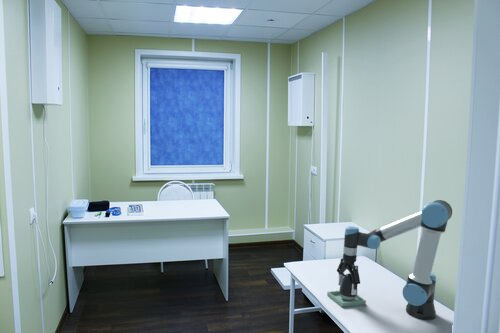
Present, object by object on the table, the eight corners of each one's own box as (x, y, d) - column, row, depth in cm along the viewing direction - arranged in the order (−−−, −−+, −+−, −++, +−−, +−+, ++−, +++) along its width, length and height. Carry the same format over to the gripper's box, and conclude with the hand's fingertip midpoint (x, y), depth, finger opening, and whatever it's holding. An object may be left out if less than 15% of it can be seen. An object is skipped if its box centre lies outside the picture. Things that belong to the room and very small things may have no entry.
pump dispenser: (343, 293, 240) (345, 269, 238) (359, 299, 233) (362, 274, 231) (335, 298, 232) (337, 273, 230) (351, 304, 225) (353, 278, 224)
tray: (365, 304, 228) (365, 300, 228) (341, 307, 222) (342, 303, 222) (349, 293, 242) (350, 289, 242) (327, 295, 237) (327, 291, 237)
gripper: (368, 260, 219) (365, 298, 221) (343, 247, 243) (340, 281, 245) (357, 261, 217) (353, 299, 219) (332, 247, 240) (330, 281, 242)
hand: (347, 289), depth 232 cm, fingers open, 13 cm apart
